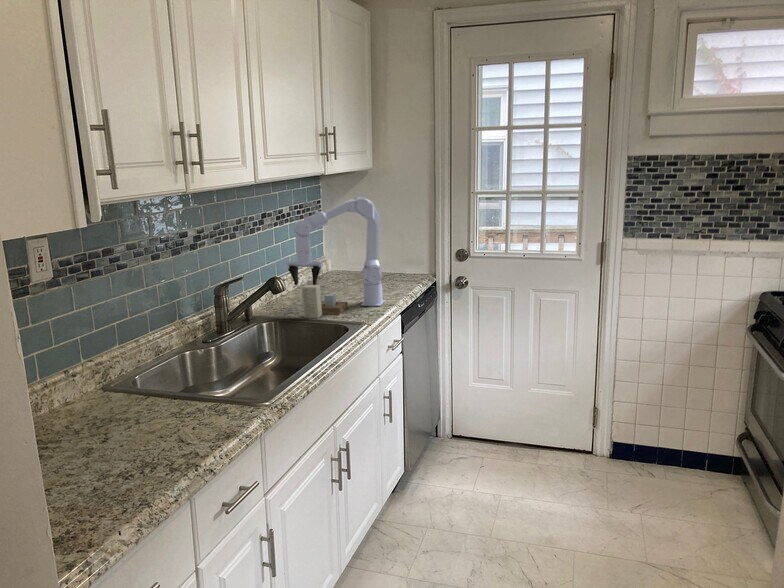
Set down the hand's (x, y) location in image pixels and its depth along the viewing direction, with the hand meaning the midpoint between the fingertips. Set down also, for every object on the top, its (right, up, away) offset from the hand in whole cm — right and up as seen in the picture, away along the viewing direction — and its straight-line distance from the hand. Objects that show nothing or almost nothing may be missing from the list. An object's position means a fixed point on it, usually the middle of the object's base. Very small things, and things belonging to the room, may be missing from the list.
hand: (305, 284), depth 257 cm
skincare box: (+4, -13, -9) cm, 16 cm away
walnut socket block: (+10, -10, 0) cm, 14 cm away
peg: (+10, -10, 0) cm, 14 cm away
